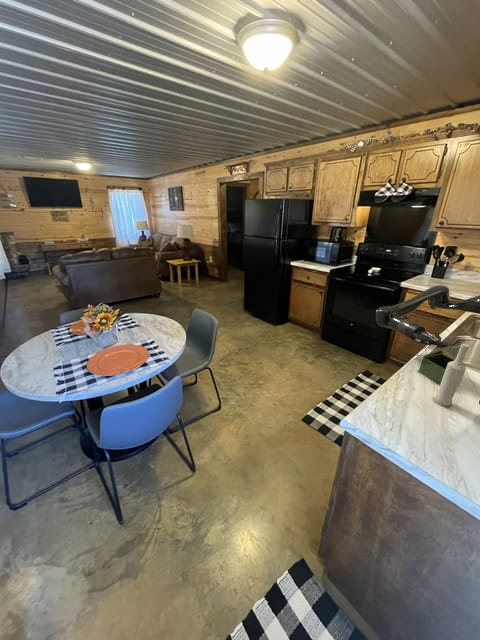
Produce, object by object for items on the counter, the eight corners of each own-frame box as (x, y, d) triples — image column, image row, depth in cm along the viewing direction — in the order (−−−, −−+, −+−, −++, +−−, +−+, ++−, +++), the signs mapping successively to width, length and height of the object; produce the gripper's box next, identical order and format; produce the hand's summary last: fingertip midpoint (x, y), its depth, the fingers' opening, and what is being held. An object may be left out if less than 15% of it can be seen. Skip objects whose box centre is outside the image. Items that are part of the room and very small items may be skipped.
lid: (465, 344, 108) (464, 342, 108) (445, 348, 105) (444, 347, 105) (442, 353, 118) (441, 351, 118) (423, 357, 115) (422, 355, 115)
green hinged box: (459, 380, 112) (465, 365, 109) (440, 385, 109) (445, 370, 106) (436, 367, 121) (441, 353, 118) (418, 371, 118) (423, 357, 115)
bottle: (432, 401, 100) (454, 344, 90) (436, 395, 103) (457, 340, 93) (448, 408, 97) (473, 350, 86) (452, 402, 100) (476, 345, 90)
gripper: (418, 334, 129) (454, 352, 114) (397, 338, 125) (431, 357, 110) (422, 320, 126) (460, 336, 111) (401, 324, 122) (437, 341, 107)
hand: (446, 347), depth 110 cm, fingers closed
